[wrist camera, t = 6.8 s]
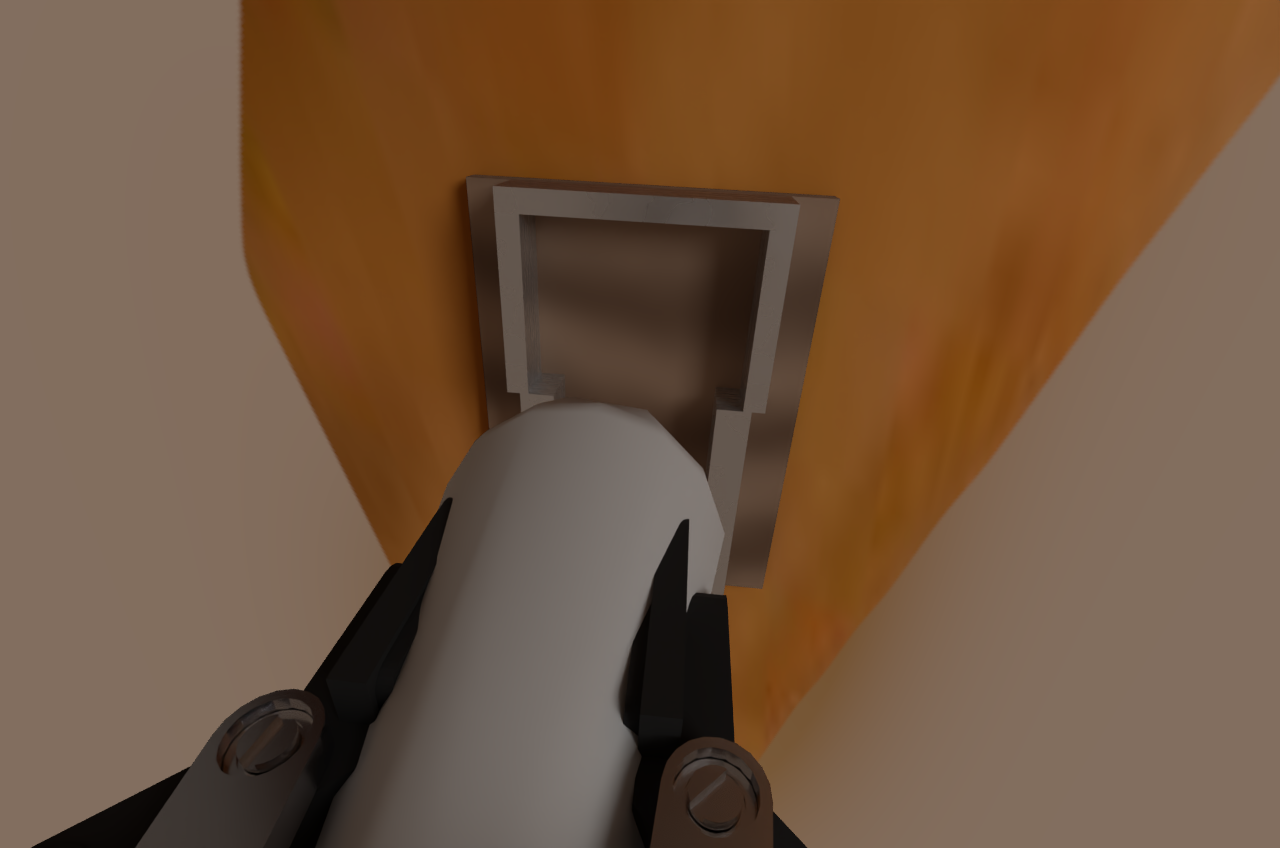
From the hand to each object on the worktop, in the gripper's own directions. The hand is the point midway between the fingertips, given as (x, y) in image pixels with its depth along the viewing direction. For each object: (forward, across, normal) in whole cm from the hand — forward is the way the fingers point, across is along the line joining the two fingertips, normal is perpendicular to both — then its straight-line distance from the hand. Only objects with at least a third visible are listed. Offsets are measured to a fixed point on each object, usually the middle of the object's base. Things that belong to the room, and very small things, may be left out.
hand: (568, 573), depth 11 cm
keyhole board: (+19, 0, +6) cm, 20 cm away
